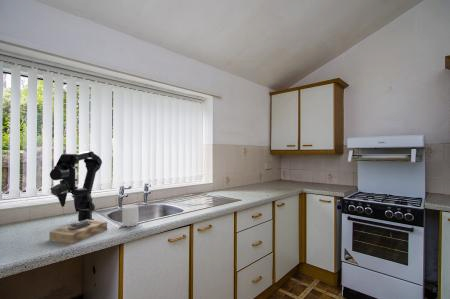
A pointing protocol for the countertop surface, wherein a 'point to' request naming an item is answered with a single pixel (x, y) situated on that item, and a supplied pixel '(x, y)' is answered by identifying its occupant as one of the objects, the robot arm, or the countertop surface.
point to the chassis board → (77, 232)
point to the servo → (79, 224)
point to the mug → (130, 215)
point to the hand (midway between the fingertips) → (69, 207)
